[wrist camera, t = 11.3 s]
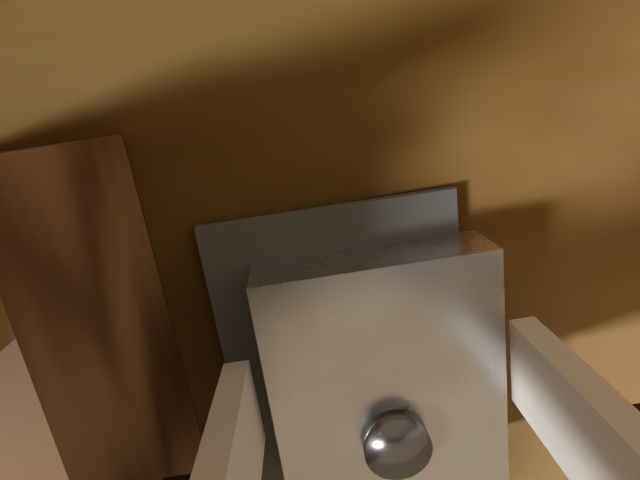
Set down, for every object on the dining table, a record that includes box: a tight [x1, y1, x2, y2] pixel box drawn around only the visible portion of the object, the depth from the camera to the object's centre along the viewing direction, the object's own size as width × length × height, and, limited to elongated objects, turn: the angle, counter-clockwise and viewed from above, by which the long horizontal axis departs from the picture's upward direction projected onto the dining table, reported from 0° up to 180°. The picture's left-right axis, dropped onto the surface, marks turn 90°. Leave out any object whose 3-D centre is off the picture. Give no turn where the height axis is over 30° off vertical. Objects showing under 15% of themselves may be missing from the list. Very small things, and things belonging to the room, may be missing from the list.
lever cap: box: [246, 230, 509, 480], centre depth 14 cm, size 8×7×3 cm
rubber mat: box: [194, 186, 459, 480], centre depth 15 cm, size 10×8×1 cm
